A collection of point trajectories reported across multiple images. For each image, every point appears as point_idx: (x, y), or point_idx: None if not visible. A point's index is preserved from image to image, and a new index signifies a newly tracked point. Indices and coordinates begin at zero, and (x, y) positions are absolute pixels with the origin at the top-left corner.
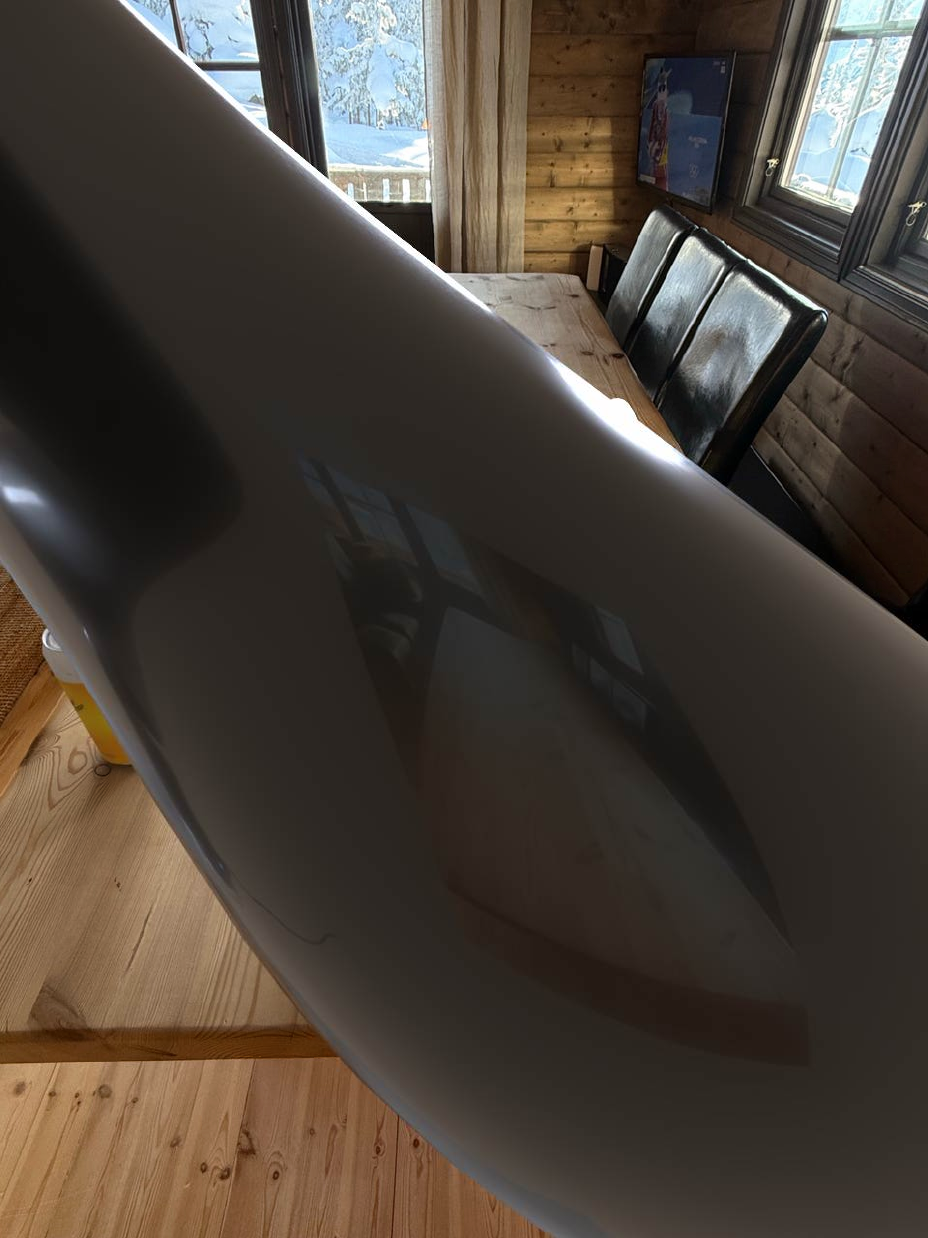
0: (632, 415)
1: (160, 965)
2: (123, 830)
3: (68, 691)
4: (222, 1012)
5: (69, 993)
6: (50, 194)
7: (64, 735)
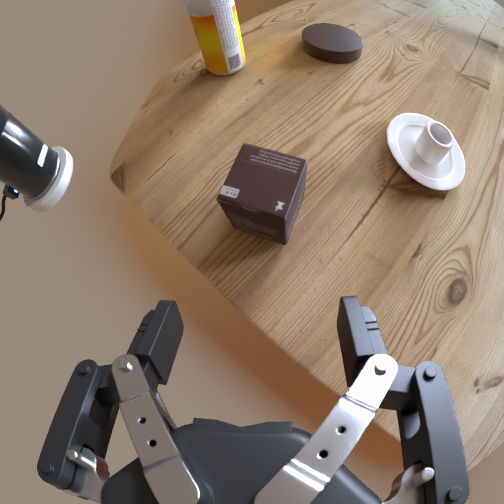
0: None
1: (160, 187)
2: (190, 106)
3: (191, 21)
4: (169, 234)
5: (125, 174)
6: None
7: None
